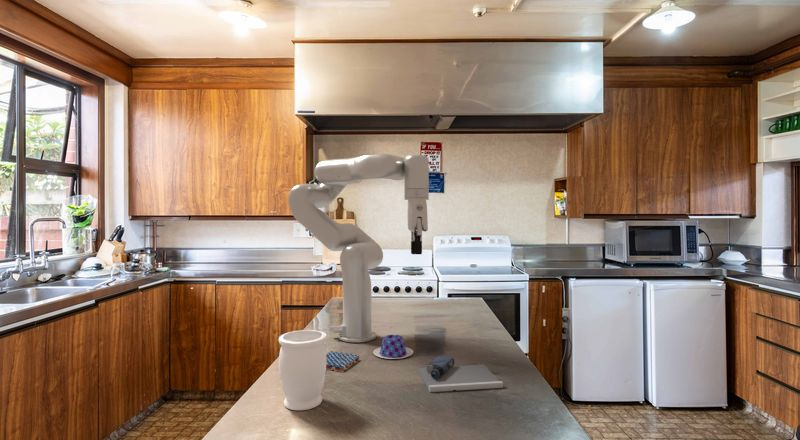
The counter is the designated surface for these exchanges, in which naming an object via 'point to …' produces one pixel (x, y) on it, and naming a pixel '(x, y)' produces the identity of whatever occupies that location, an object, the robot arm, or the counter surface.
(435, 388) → the grey flat slab
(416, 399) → the counter surface
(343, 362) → the woven mat
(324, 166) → the robot arm
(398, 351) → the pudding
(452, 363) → the vaping device
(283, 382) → the jar
